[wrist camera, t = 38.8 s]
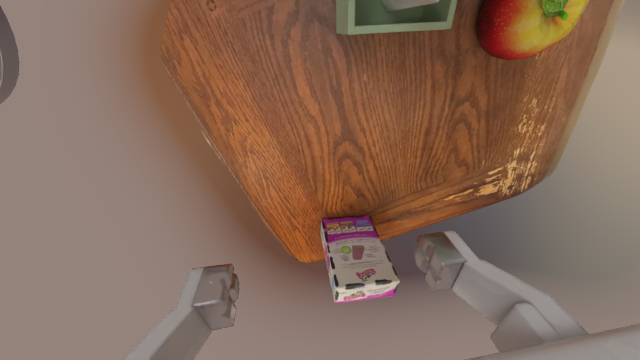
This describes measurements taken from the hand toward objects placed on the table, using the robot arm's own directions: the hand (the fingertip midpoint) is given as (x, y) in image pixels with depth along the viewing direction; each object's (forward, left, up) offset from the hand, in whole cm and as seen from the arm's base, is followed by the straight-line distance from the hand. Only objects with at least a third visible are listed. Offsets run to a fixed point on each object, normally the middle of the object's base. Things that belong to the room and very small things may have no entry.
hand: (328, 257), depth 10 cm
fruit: (+21, +24, -31) cm, 44 cm away
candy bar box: (+23, -20, -31) cm, 43 cm away
